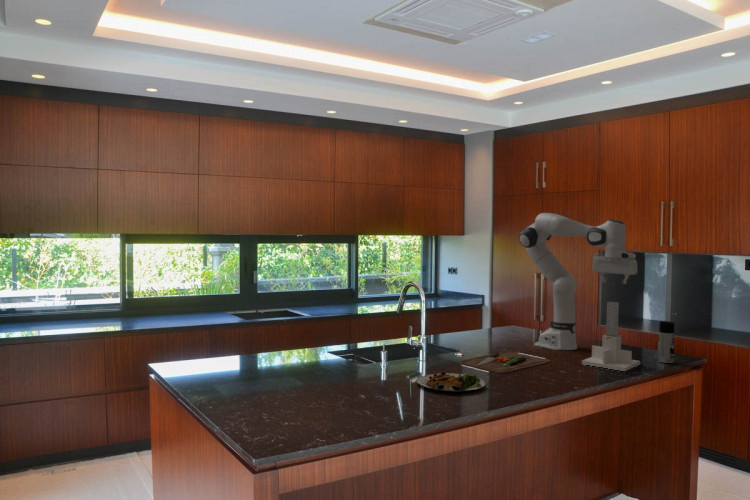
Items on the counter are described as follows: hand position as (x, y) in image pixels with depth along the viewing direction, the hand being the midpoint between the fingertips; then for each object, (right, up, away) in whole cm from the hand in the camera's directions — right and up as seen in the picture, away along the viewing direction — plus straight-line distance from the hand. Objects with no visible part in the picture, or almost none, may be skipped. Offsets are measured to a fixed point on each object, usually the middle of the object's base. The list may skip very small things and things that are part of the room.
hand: (613, 283), depth 273 cm
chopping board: (-51, -39, +3) cm, 65 cm away
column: (-1, -27, 0) cm, 27 cm away
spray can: (+28, -40, +7) cm, 49 cm away
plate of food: (-83, -40, -40) cm, 100 cm away
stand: (-1, -39, +1) cm, 39 cm away
